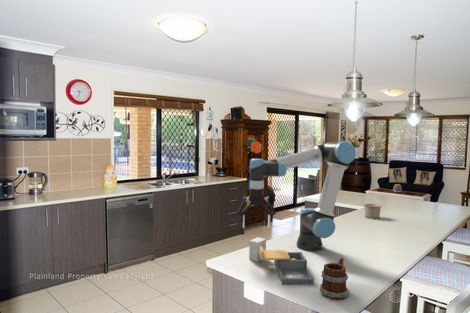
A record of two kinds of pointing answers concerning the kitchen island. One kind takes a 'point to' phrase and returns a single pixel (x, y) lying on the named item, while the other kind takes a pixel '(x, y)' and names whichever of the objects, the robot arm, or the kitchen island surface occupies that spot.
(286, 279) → the housing
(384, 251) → the kitchen island surface
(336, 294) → the mug
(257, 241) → the small box
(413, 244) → the kitchen island surface
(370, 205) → the planter
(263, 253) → the lid
